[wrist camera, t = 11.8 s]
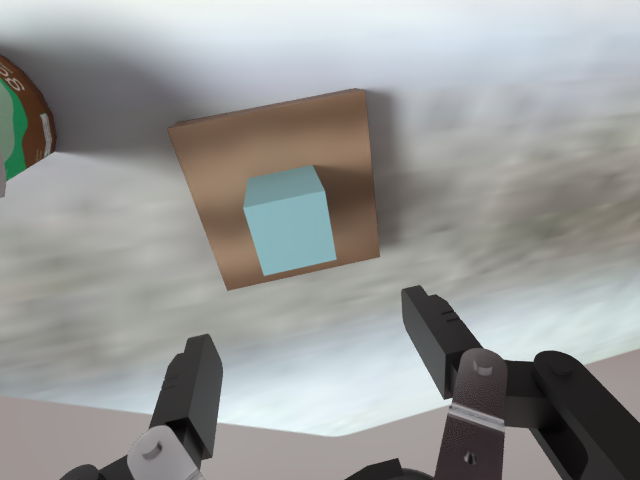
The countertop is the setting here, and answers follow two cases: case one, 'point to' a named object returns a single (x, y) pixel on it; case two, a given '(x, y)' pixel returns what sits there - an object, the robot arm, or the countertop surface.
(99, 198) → the countertop surface
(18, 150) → the food container
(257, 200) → the teal block
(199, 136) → the walnut base
